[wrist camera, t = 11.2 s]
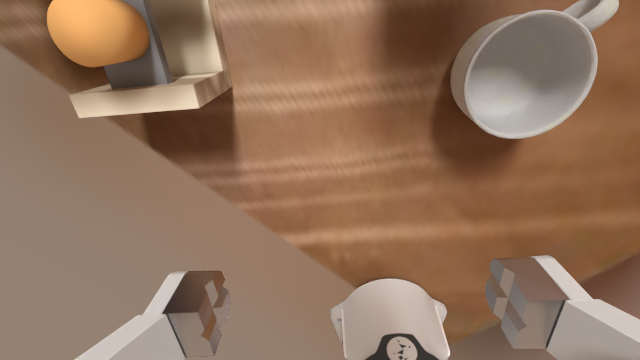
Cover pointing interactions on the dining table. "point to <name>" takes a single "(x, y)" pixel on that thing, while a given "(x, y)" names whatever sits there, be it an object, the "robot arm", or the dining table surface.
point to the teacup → (529, 68)
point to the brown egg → (97, 31)
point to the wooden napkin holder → (165, 64)
